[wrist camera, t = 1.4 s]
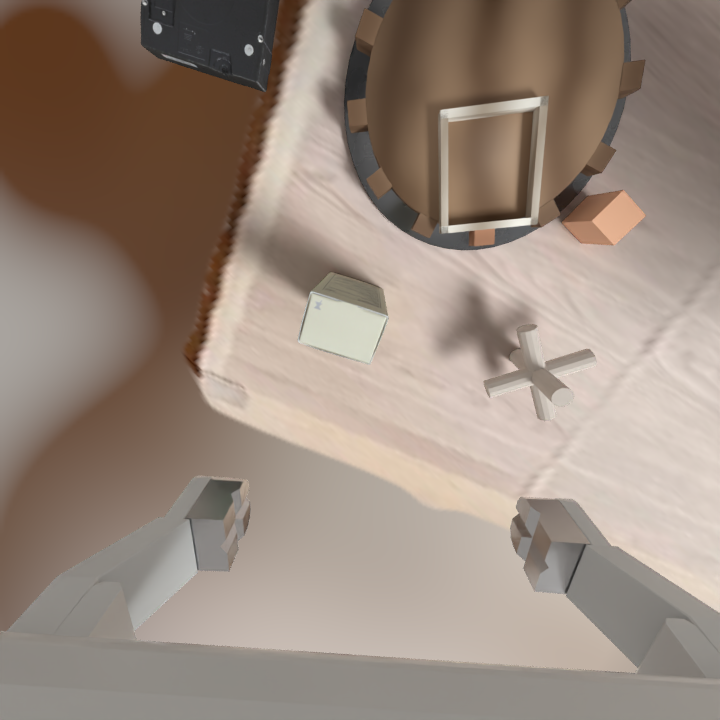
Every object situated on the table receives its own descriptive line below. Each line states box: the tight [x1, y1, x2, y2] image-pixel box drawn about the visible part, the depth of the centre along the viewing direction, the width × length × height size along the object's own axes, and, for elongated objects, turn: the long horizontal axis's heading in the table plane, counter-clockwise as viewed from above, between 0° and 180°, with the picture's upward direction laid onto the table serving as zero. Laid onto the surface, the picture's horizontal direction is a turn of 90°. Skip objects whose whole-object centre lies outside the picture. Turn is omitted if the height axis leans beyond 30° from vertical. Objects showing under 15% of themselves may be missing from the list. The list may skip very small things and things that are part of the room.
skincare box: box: [298, 272, 389, 364], centre depth 31 cm, size 6×4×12 cm
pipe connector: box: [484, 324, 597, 421], centre depth 33 cm, size 10×10×10 cm
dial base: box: [344, 0, 631, 250], centre depth 29 cm, size 24×24×1 cm
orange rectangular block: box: [562, 190, 646, 245], centre depth 30 cm, size 3×3×5 cm
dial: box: [347, 0, 645, 246], centre depth 25 cm, size 23×23×8 cm
